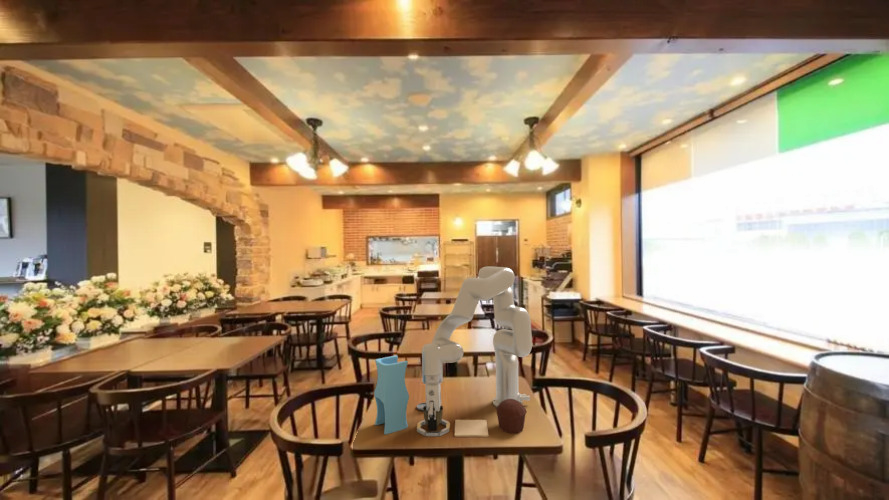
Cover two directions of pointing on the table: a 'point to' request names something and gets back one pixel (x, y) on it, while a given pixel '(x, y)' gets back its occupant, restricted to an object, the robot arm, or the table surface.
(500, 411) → the muffin
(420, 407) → the pocket watch
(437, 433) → the socket ring
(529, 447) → the table surface
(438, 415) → the cup
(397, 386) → the vase
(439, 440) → the table surface
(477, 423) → the cork mat
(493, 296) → the robot arm
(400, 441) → the table surface
